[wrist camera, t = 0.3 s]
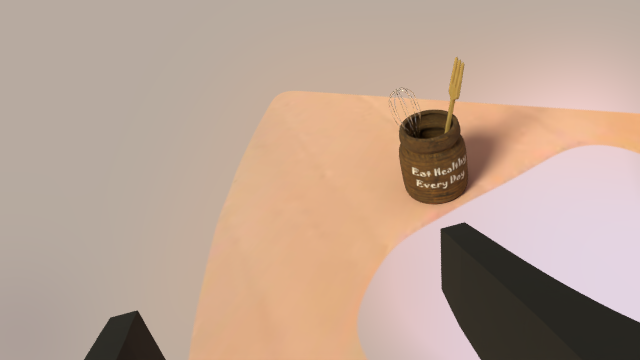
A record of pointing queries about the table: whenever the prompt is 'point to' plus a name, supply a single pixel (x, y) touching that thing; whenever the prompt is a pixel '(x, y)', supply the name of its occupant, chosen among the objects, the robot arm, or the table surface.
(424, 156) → the utensil holder
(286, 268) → the table surface
